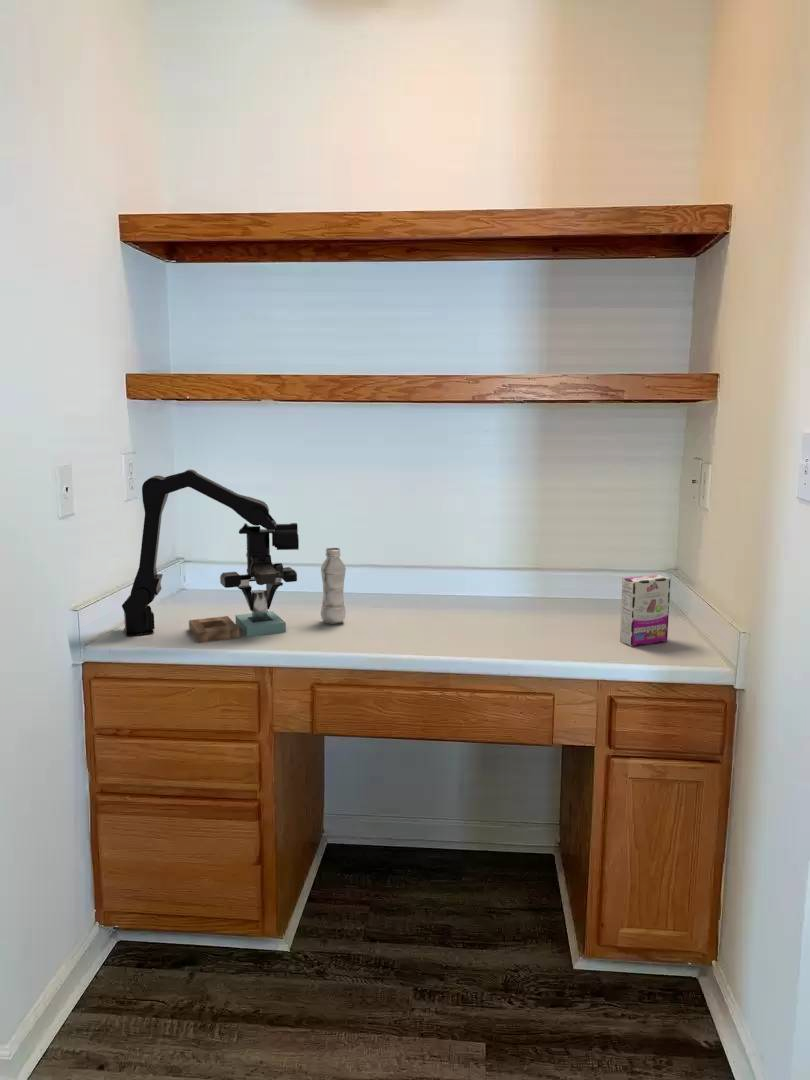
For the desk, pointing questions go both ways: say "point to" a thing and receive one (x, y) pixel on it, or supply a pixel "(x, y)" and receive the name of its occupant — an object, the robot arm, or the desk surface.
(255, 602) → the steel peg
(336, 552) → the plastic bottle
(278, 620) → the block
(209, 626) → the socket block
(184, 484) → the robot arm
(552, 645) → the desk surface
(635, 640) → the candy bar box
